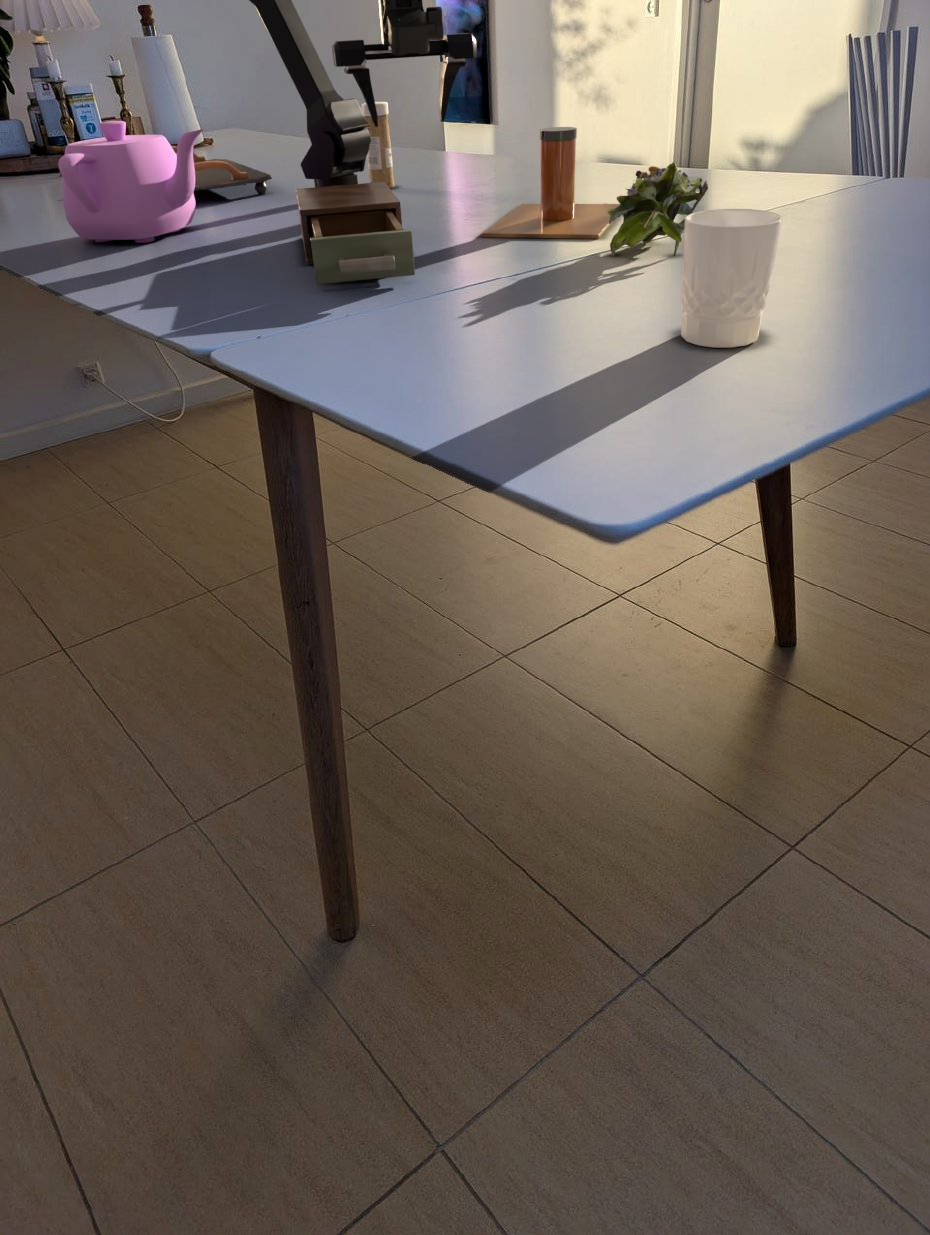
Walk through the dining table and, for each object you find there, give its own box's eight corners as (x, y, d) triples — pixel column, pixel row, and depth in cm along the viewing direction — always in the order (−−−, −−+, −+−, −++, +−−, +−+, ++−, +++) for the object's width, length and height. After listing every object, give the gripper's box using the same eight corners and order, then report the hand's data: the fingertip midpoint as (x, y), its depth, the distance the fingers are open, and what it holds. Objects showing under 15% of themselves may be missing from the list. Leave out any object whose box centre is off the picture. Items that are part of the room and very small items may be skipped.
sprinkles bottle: (399, 187, 159) (392, 101, 152) (377, 191, 157) (369, 104, 150) (387, 185, 162) (379, 100, 155) (365, 188, 160) (356, 103, 153)
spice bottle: (549, 222, 124) (550, 132, 118) (533, 217, 128) (533, 129, 122) (581, 218, 125) (583, 128, 119) (564, 213, 129) (565, 126, 123)
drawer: (420, 284, 97) (416, 238, 95) (318, 293, 96) (312, 247, 93) (397, 246, 114) (394, 206, 112) (310, 254, 113) (305, 214, 110)
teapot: (37, 252, 126) (1, 133, 118) (126, 223, 142) (100, 116, 134) (175, 256, 120) (148, 129, 111) (251, 224, 136) (232, 112, 128)
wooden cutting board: (482, 237, 120) (482, 233, 120) (522, 207, 138) (522, 203, 137) (598, 238, 116) (599, 234, 116) (625, 207, 133) (625, 203, 133)
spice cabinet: (404, 256, 113) (400, 201, 109) (307, 265, 111) (299, 210, 108) (389, 230, 127) (384, 181, 124) (302, 238, 126) (295, 188, 122)
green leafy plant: (643, 287, 115) (684, 198, 114) (695, 288, 106) (741, 191, 104) (578, 244, 110) (620, 149, 108) (627, 241, 100) (675, 137, 99)
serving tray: (281, 194, 159) (275, 156, 155) (151, 212, 150) (142, 171, 147) (225, 172, 188) (219, 139, 184) (113, 185, 179) (104, 151, 176)
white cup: (664, 327, 83) (673, 212, 77) (747, 321, 83) (762, 206, 78) (689, 354, 76) (701, 229, 71) (778, 347, 77) (797, 223, 71)
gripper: (330, -13, 106) (346, 135, 115) (483, -21, 108) (487, 124, 117) (325, -10, 115) (340, 127, 124) (466, -17, 117) (471, 117, 126)
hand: (409, 124), depth 122 cm, fingers open, 9 cm apart
